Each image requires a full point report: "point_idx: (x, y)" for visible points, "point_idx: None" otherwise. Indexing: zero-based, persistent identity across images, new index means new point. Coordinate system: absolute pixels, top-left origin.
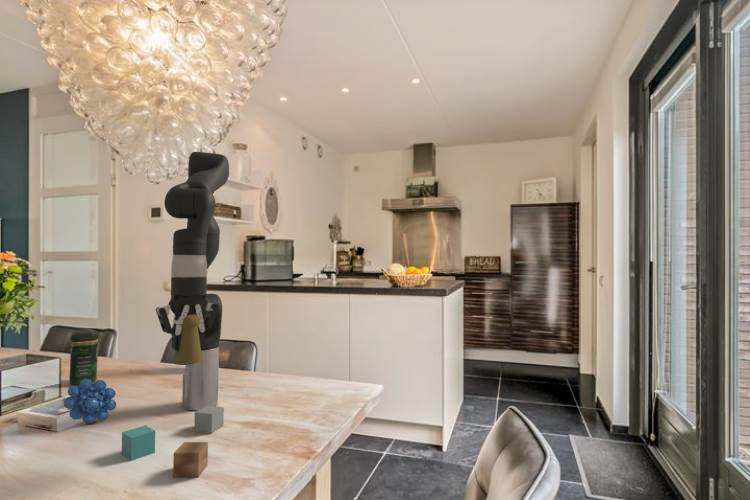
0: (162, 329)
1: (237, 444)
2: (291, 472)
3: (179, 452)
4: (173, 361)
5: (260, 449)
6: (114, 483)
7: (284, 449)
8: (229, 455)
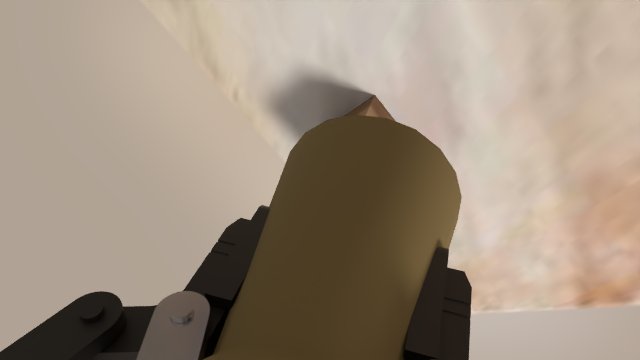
0: (65, 312)
1: (560, 110)
2: (500, 303)
3: None
4: (288, 158)
5: (565, 188)
6: (224, 41)
7: (600, 238)
8: (486, 147)
